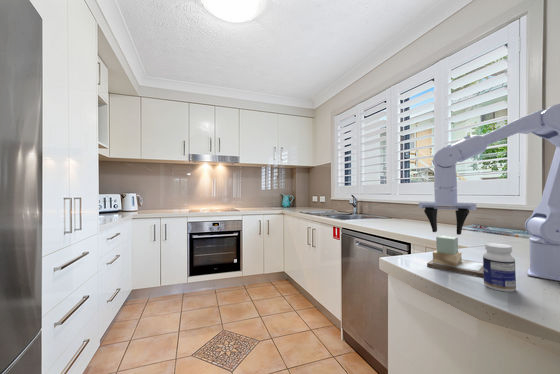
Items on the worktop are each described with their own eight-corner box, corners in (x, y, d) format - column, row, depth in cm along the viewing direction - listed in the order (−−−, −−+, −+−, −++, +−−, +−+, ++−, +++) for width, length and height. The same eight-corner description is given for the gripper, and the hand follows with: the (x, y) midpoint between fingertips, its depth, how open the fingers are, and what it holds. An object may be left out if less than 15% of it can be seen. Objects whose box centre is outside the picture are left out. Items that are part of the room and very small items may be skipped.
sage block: (458, 252, 75) (457, 237, 75) (454, 254, 72) (453, 239, 72) (441, 249, 79) (440, 235, 79) (436, 252, 76) (436, 237, 76)
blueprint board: (494, 267, 73) (493, 253, 73) (487, 278, 64) (486, 262, 64) (439, 258, 83) (438, 246, 83) (427, 266, 75) (426, 252, 75)
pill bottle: (483, 281, 62) (482, 241, 62) (515, 286, 59) (513, 244, 59) (483, 288, 58) (482, 245, 58) (517, 294, 54) (516, 248, 54)
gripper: (478, 187, 73) (479, 234, 73) (423, 188, 84) (424, 229, 83) (473, 187, 68) (474, 237, 68) (416, 188, 79) (417, 231, 79)
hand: (446, 233), depth 75 cm, fingers open, 6 cm apart
